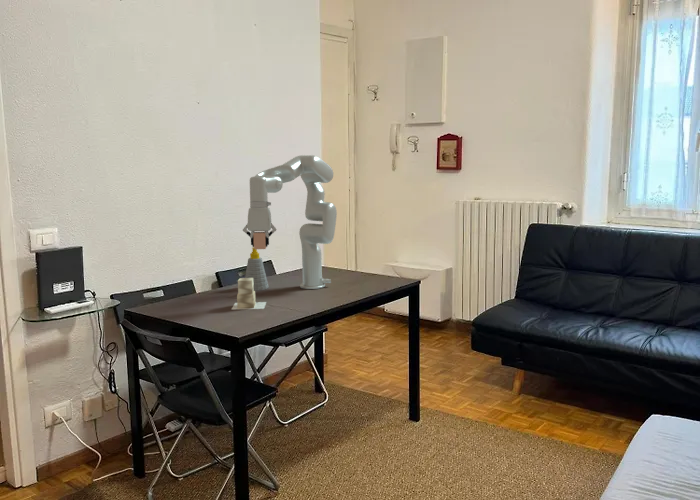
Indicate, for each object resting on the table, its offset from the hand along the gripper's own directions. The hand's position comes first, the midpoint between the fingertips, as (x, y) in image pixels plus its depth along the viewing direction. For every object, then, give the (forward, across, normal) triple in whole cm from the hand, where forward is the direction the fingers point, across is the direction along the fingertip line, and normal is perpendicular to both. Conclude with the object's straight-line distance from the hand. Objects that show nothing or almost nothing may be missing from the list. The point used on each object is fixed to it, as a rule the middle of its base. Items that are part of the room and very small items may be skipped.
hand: (260, 246), depth 281 cm
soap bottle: (+26, +6, -35) cm, 44 cm away
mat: (+26, +5, +3) cm, 27 cm away
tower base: (+26, +6, +4) cm, 27 cm away
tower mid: (+20, +6, +4) cm, 21 cm away
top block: (+1, 0, 0) cm, 1 cm away
